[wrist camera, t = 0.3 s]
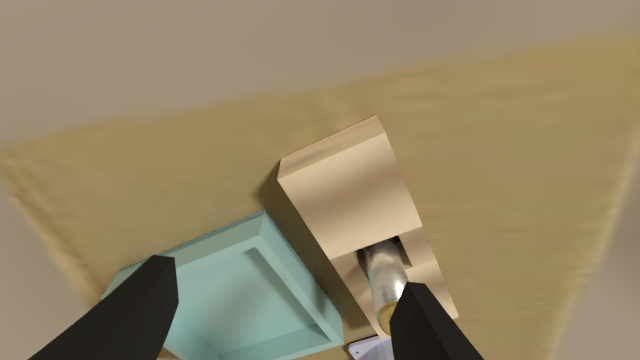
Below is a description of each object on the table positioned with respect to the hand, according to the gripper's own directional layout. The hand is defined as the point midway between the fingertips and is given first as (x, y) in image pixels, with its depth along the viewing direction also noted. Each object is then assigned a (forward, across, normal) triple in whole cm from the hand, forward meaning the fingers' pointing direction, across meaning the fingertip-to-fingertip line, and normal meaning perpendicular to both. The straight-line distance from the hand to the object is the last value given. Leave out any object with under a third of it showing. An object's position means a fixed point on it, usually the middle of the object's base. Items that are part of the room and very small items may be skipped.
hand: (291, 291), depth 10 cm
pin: (+10, -6, +5) cm, 13 cm away
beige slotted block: (+10, -6, +5) cm, 13 cm away
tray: (+10, +3, +13) cm, 17 cm away
